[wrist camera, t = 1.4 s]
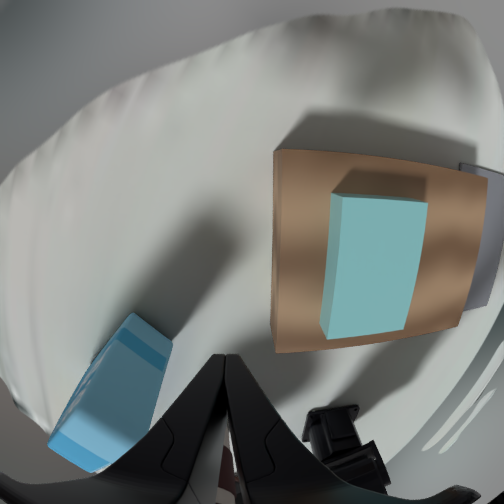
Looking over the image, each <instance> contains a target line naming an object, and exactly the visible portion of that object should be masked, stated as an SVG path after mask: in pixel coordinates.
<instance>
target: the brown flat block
mask: <svg viewBox="0 0 504 504" xmlns="http://www.w3.org/2000/svg"><path fill="white" fill-rule="evenodd" d="M487 188H488V178H486V177H482V176H479V175H475V174H471V173H467V172H462V171H458V170H454V169H449V168H444V167H439V166H434V165H429V164H424V163H418V162H413V161H407V160H400V159H394V158H387V157H379V156H371V155H363V154H353V153H343V152H331V151H317V150H299V149H280V150H277V151H274V152H273V241H272V284H271V316H270V326H271V331H272V336H273V342H274V347H275V352H276V353H292V352H305V351H317V350H327V349H336V348H344V347H352V346H360V345H367V344H373V343H380V342H386V341H392V340H397V339H403V338H408V337H413V336H418V335H423V334H427V333H432V332H436V331H441V330H445V329H449V328H453V327H457V326H458V324H459V321H460V318H461V315H462V312H463V309H464V306H465V303H466V300H467V296H468V293H469V290H470V286H471V282H472V278H473V275H474V270H475V266H476V262H477V257H478V253H479V248H480V242H481V237H482V231H483V224H484V217H485V209H486V199H487ZM331 193H347V194H365V195H380V196H394V197H406V198H413V199H416V200H420V201H423V202H426V203H428V208H427V217H426V225H425V232H424V239H423V246H422V252H421V257H420V263H419V268H418V273H417V278H416V282H415V287H414V291H413V295H412V299H411V303H410V307H409V311H408V315H407V318H406V322H405V325H404V329H403V330H397V331H390V332H384V333H377V334H370V335H363V336H355V337H346V338H337V339H326V336H325V334H324V332H323V330H322V328H321V326H320V324H319V322H320V314H321V307H322V298H323V290H324V280H325V270H326V260H327V248H328V235H329V220H330V202H331Z"/></svg>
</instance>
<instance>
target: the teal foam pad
mask: <svg viewBox="0 0 504 504" xmlns="http://www.w3.org/2000/svg"><path fill="white" fill-rule="evenodd" d="M427 208H428V203H426V202H423V201H420V200H416V199H413V198H406V197H394V196H380V195H365V194H347V193H331V202H330V220H329V235H328V248H327V260H326V270H325V280H324V290H323V298H322V307H321V314H320V322H319V324H320V326H321V328H322V330H323V332H324V334H325V336H326V339H337V338H346V337H355V336H363V335H370V334H377V333H384V332H390V331H397V330H403V329H404V325H405V322H406V318H407V315H408V311H409V307H410V303H411V299H412V295H413V291H414V287H415V282H416V278H417V273H418V268H419V263H420V257H421V252H422V246H423V239H424V232H425V225H426V217H427Z"/></svg>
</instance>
